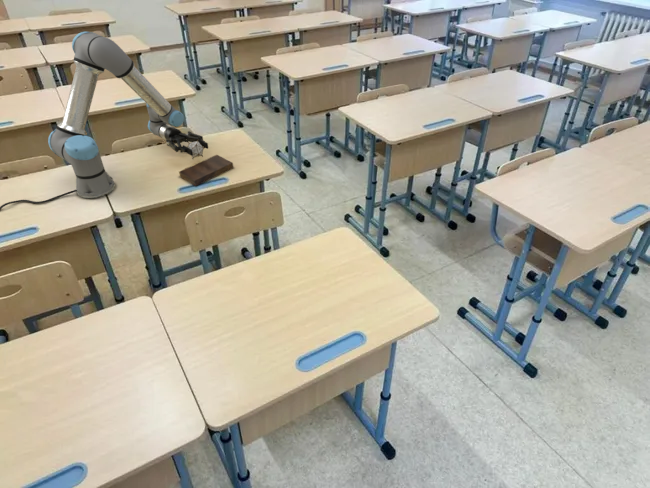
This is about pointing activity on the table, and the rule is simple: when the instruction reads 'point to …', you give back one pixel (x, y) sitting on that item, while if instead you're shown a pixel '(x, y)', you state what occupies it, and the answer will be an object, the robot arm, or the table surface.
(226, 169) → the walnut board
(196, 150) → the grey spiked polyhedron
